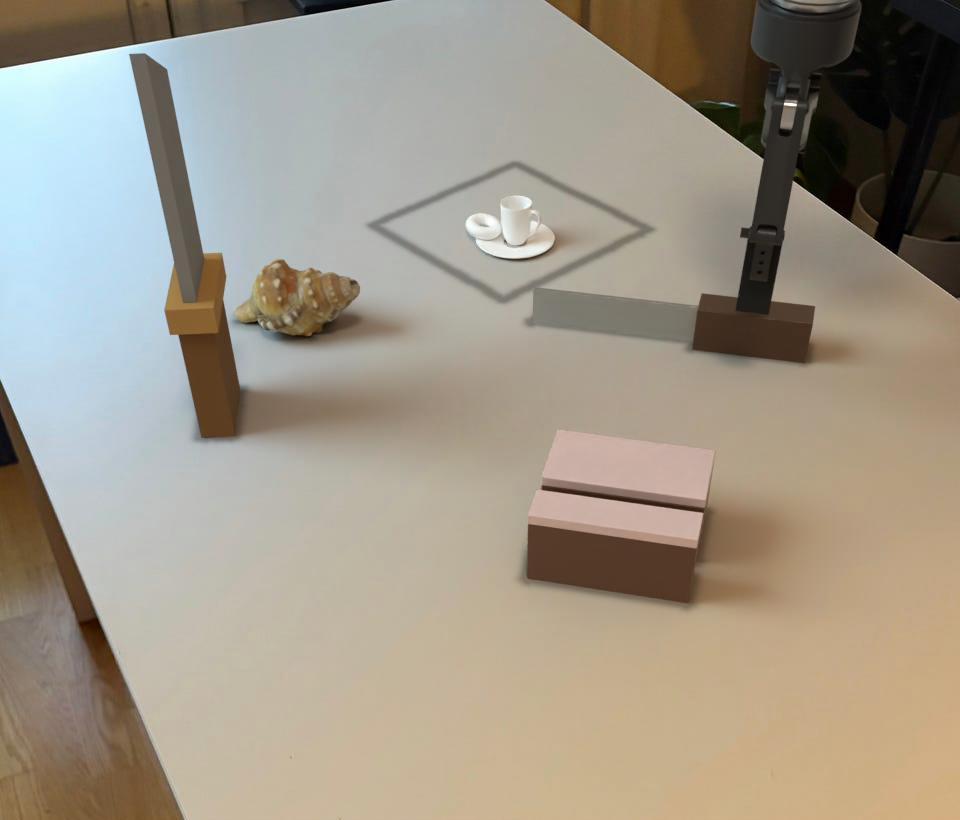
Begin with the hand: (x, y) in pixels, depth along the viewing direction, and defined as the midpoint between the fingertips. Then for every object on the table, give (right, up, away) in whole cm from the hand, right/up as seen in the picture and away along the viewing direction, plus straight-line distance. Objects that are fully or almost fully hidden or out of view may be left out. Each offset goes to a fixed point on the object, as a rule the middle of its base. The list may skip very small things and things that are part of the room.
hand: (760, 269), depth 104 cm
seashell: (-41, -2, +9) cm, 42 cm away
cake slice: (-14, -28, -14) cm, 35 cm away
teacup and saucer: (-21, +12, +21) cm, 32 cm away
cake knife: (-7, -4, +7) cm, 10 cm away
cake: (-13, -24, -10) cm, 29 cm away
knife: (-46, -13, 0) cm, 48 cm away
